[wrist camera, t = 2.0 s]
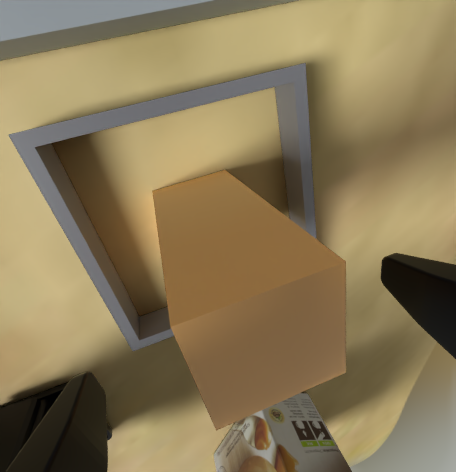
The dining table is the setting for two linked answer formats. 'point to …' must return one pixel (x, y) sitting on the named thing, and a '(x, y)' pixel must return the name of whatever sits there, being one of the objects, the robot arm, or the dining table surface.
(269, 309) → the tan wooden block
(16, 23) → the gray rectangular frame
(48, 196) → the purplish gray square frame
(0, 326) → the dining table surface
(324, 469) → the coffee box
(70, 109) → the dining table surface
